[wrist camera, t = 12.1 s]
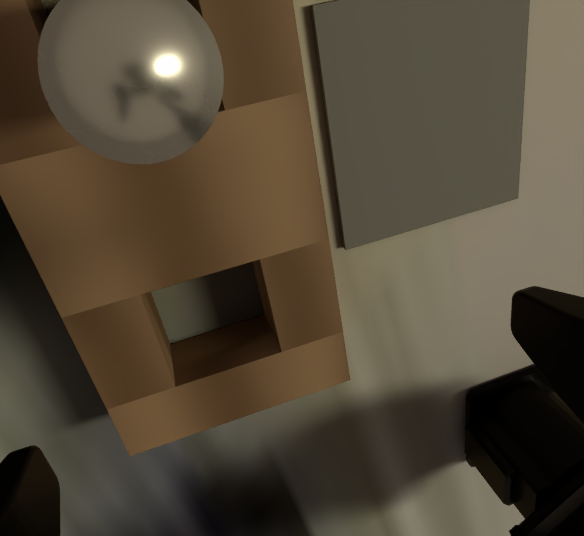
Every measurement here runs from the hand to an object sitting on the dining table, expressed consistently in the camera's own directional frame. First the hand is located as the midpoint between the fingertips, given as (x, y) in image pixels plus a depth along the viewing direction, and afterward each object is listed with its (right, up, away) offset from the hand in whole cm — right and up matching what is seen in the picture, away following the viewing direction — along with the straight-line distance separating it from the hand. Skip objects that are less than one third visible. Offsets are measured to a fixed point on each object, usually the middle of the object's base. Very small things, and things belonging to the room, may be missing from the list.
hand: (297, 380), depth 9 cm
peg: (-6, +10, +8) cm, 14 cm away
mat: (+6, +9, +12) cm, 16 cm away
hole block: (-5, +5, +10) cm, 13 cm away
